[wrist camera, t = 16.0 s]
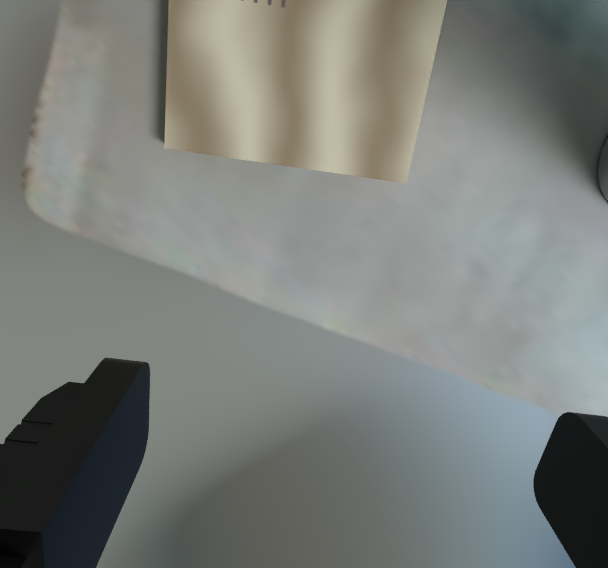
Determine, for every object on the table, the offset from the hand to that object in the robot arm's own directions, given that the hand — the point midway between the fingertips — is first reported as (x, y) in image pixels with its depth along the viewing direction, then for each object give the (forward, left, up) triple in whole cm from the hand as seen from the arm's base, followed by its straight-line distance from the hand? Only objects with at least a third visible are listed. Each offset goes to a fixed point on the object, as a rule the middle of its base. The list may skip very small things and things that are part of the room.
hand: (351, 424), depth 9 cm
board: (+2, -13, -28) cm, 31 cm away
